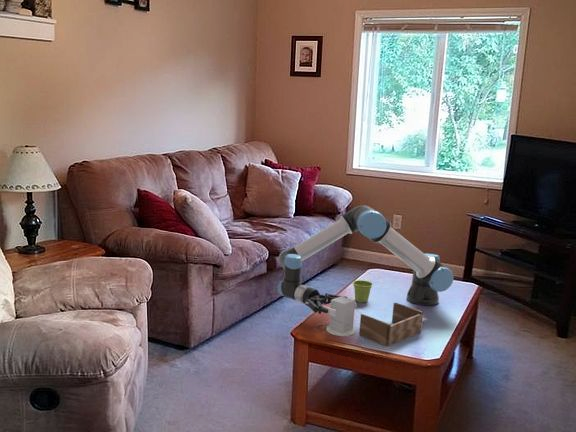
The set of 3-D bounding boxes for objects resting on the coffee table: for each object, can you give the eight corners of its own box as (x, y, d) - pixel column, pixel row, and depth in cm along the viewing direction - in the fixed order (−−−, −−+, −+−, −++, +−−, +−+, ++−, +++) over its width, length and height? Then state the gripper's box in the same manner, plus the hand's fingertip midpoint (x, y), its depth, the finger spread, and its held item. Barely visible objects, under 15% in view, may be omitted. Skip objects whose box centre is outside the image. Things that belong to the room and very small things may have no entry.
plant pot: (348, 301, 287) (350, 283, 285) (355, 296, 296) (356, 278, 294) (367, 305, 283) (369, 287, 282) (373, 299, 292) (375, 282, 290)
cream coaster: (338, 322, 259) (339, 321, 259) (361, 331, 251) (361, 330, 251) (320, 329, 251) (320, 328, 251) (342, 338, 243) (342, 337, 243)
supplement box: (353, 329, 251) (356, 300, 249) (342, 333, 246) (344, 304, 244) (339, 324, 256) (341, 295, 254) (328, 328, 251) (330, 299, 248)
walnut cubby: (393, 322, 264) (395, 302, 262) (420, 332, 255) (423, 311, 253) (359, 335, 247) (360, 314, 245) (387, 346, 238) (389, 324, 236)
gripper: (325, 298, 272) (363, 311, 257) (286, 310, 254) (325, 325, 240) (327, 282, 270) (365, 295, 256) (287, 293, 253) (326, 307, 238)
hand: (345, 309), depth 248 cm, fingers open, 13 cm apart
